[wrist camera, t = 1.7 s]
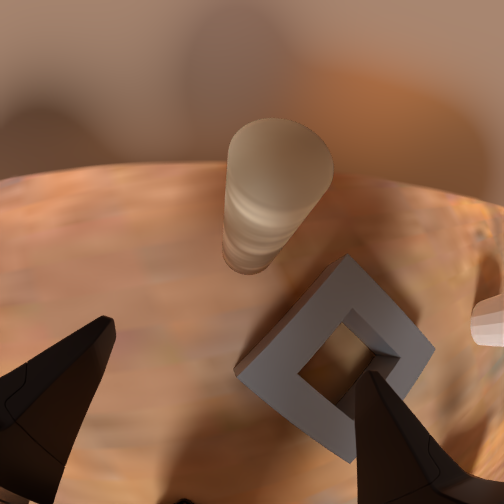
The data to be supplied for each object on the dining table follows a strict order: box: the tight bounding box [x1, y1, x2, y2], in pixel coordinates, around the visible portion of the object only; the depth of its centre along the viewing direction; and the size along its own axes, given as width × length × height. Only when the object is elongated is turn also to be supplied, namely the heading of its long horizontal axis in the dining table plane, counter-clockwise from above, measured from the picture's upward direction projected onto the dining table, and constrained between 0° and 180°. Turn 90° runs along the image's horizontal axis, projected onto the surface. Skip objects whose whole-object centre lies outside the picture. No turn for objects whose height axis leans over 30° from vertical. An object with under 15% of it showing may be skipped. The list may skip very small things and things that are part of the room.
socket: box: [234, 254, 435, 464], centre depth 20 cm, size 12×12×4 cm
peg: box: [222, 118, 334, 275], centre depth 17 cm, size 4×4×14 cm
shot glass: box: [470, 293, 504, 346], centre depth 21 cm, size 7×7×7 cm
